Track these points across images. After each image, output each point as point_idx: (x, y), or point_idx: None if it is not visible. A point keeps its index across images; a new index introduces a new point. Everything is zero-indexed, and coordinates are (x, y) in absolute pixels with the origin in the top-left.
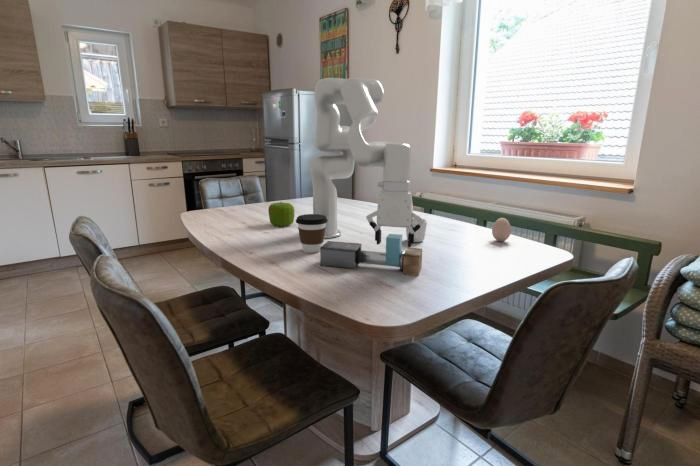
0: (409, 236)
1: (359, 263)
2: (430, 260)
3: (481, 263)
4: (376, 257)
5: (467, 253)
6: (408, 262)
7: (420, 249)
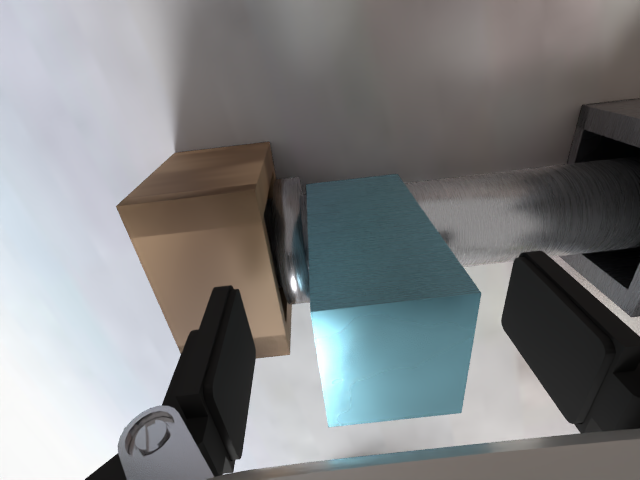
0: (199, 367)
1: None
2: None
3: (6, 413)
4: (479, 192)
5: None
6: (222, 171)
7: None
